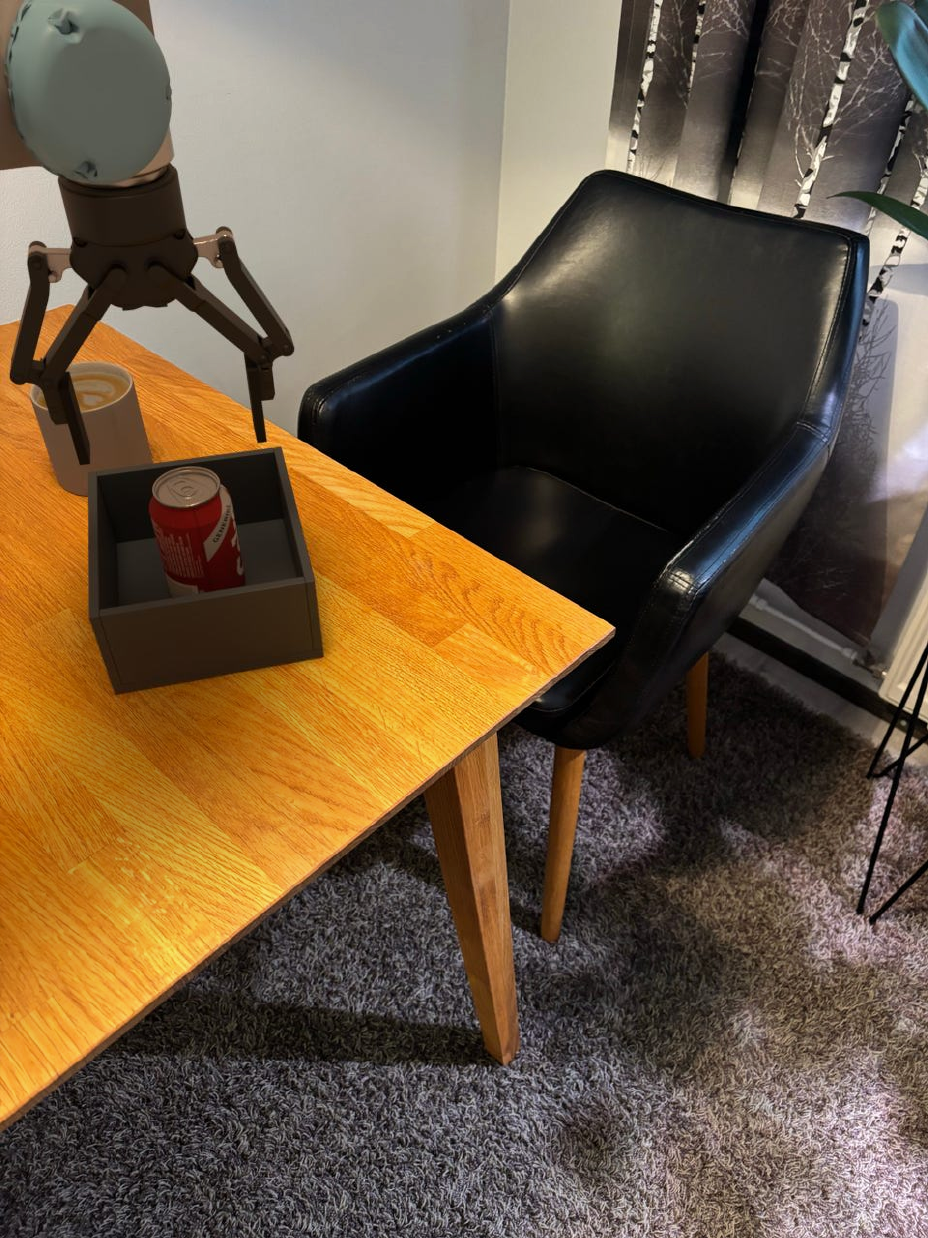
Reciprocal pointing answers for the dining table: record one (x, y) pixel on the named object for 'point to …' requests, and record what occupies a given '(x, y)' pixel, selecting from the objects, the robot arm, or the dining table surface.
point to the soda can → (196, 532)
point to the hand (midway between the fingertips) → (174, 444)
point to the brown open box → (207, 622)
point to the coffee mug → (96, 424)
